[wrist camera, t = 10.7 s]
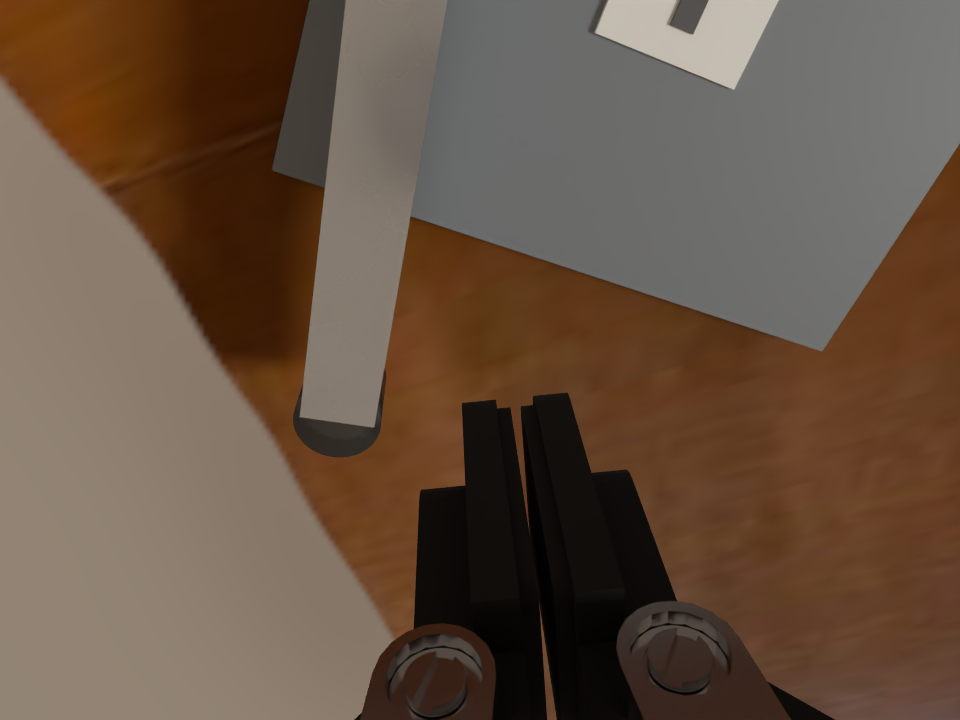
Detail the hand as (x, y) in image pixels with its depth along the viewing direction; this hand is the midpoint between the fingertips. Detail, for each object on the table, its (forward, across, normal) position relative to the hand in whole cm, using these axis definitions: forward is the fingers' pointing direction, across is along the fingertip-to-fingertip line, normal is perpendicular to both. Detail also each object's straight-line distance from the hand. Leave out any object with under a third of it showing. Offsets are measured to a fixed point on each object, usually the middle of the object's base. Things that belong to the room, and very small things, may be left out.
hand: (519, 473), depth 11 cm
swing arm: (+13, +3, -3) cm, 14 cm away
